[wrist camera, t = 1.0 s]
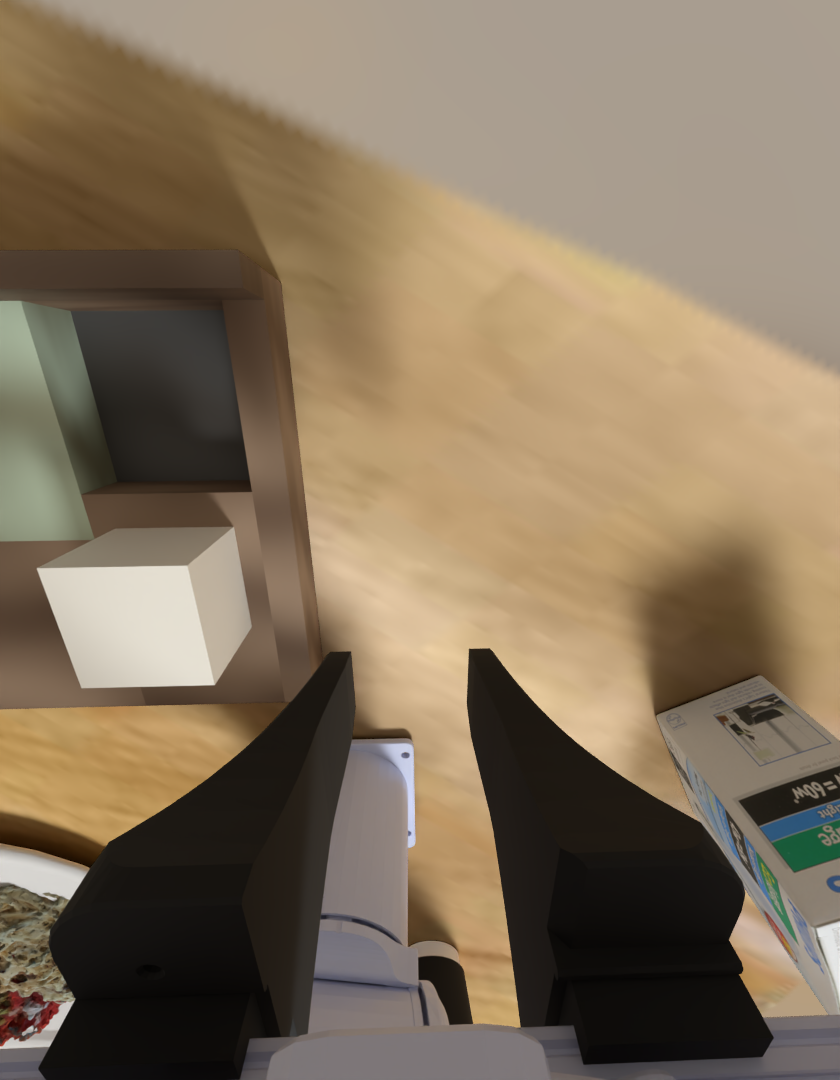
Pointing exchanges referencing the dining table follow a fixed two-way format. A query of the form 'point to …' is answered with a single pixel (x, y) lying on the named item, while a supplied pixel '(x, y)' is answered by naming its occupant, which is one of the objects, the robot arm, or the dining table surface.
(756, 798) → the light bulb box
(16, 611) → the brown wooden tray
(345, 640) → the dining table surface
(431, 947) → the dixie cup
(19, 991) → the plated food
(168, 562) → the cream block
